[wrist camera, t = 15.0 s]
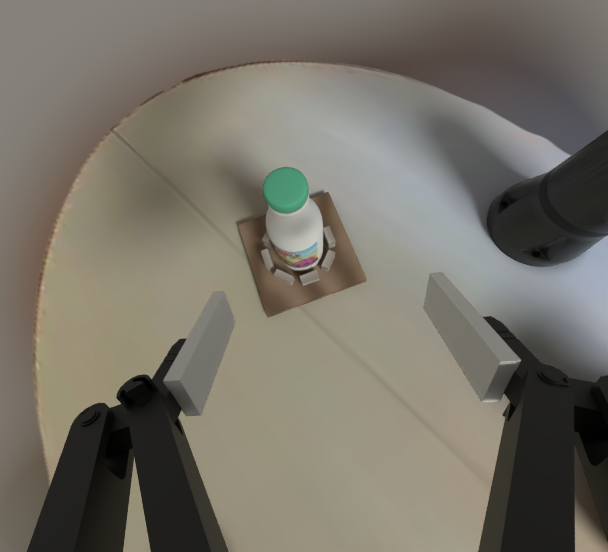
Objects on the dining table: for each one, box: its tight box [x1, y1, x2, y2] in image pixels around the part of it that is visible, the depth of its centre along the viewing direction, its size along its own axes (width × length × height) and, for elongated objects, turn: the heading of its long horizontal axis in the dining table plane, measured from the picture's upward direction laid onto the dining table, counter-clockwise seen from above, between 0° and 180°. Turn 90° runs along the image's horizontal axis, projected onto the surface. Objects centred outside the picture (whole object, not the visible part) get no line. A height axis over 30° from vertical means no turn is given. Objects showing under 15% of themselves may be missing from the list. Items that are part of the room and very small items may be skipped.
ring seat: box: [238, 192, 367, 317], centre depth 43 cm, size 18×18×4 cm
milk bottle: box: [263, 167, 323, 271], centre depth 34 cm, size 8×8×20 cm
